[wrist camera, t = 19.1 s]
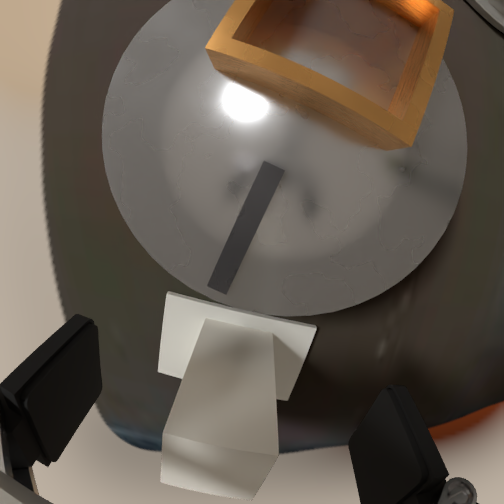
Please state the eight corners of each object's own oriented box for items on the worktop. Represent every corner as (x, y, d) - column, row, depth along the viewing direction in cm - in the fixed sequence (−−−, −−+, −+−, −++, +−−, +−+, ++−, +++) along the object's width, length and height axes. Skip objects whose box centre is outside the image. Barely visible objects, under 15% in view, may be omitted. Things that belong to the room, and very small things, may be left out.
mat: (315, 325, 17) (316, 328, 17) (287, 397, 19) (287, 400, 18) (168, 290, 17) (166, 293, 17) (159, 368, 19) (157, 371, 18)
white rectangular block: (205, 317, 17) (163, 432, 8) (272, 332, 17) (278, 455, 8) (196, 369, 18) (160, 482, 9) (256, 382, 18) (252, 500, 9)
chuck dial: (353, 330, 15) (383, 388, 10) (92, 213, 14) (30, 231, 9) (462, 90, 11) (519, 71, 6) (215, -29, 10) (200, -86, 5)
